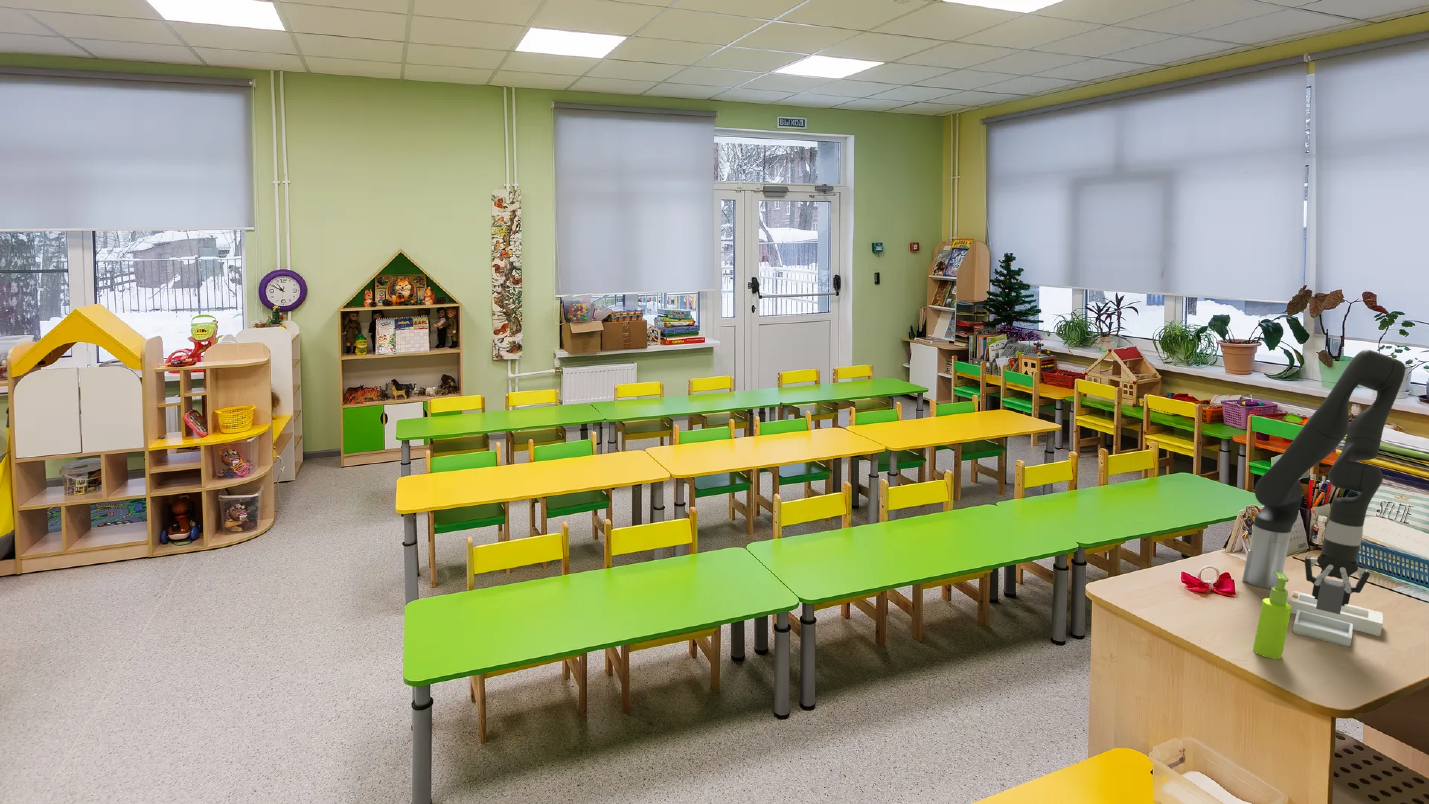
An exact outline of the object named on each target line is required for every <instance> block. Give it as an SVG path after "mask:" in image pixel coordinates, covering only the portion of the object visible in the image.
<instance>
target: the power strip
mask: <svg viewBox="0 0 1429 804" xmlns="http://www.w3.org/2000/svg"><path fill="white" fill-rule="evenodd" d="M1314 598H1315V597H1314V596H1312V594H1308V593H1304V592H1301V591H1296V590H1292V593H1291V597H1290V600H1289V604H1290V605H1291V606H1292V608H1291V613H1290V614H1291V615H1296V614H1297V610H1301V611H1305V612H1309V613H1313V614H1317V615H1320V616H1324V617H1328V618H1332V619H1336V620H1340V621H1344V622H1347V623H1351V624H1353V630H1352V631H1358V632H1362V633H1364V634H1365V633H1366V634H1370V635H1373V636H1377V637H1381V634H1382V629H1383V624H1384V619H1383V617H1384V614H1383V612H1381V611H1377V610H1373V609H1368V608H1364V607H1361V606H1357V605H1353V604H1349V603H1348V604H1347V605H1346V604H1345V606H1341V611H1340V614H1336V613H1331V612H1327V611H1323V610H1319V609H1316V605H1317V599H1314Z"/></svg>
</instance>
